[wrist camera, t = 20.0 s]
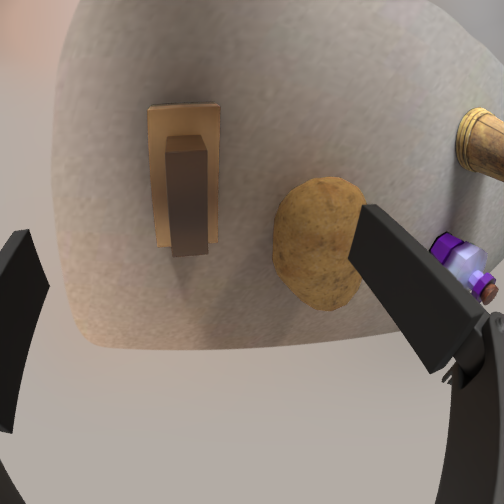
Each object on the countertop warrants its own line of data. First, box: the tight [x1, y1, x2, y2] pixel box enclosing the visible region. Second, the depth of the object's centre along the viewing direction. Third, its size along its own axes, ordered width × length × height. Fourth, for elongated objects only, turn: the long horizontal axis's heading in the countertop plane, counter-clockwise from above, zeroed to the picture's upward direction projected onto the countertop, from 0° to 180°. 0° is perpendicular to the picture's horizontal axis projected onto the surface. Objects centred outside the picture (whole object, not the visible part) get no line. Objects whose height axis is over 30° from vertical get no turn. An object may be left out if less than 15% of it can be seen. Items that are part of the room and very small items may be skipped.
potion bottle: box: [429, 231, 498, 305], centre depth 34 cm, size 9×9×12 cm
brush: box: [147, 102, 220, 257], centre depth 21 cm, size 11×5×8 cm, turn 177°
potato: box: [272, 177, 367, 311], centre depth 27 cm, size 10×14×8 cm
